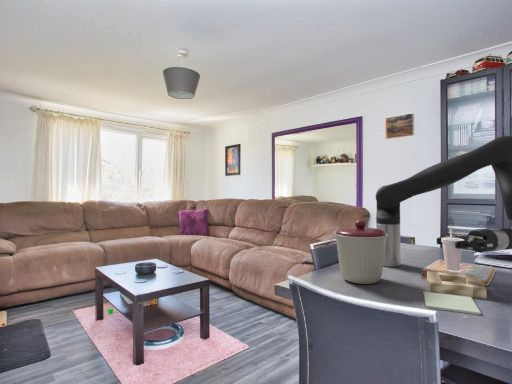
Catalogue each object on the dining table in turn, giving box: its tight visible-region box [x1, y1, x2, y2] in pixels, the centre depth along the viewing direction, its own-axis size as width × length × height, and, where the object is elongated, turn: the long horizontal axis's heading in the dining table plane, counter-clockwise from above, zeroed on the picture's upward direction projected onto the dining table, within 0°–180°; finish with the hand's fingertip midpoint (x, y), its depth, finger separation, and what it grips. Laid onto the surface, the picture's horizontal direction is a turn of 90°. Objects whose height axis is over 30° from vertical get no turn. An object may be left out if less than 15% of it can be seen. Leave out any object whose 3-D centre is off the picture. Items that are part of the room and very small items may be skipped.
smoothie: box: [441, 224, 465, 272], centre depth 97 cm, size 6×6×14 cm
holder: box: [426, 270, 487, 300], centre depth 97 cm, size 14×14×3 cm
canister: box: [333, 219, 388, 285], centre depth 107 cm, size 18×18×21 cm
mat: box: [423, 291, 482, 316], centre depth 85 cm, size 12×12×1 cm
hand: (446, 242), depth 96 cm, fingers closed on smoothie, 6 cm apart
